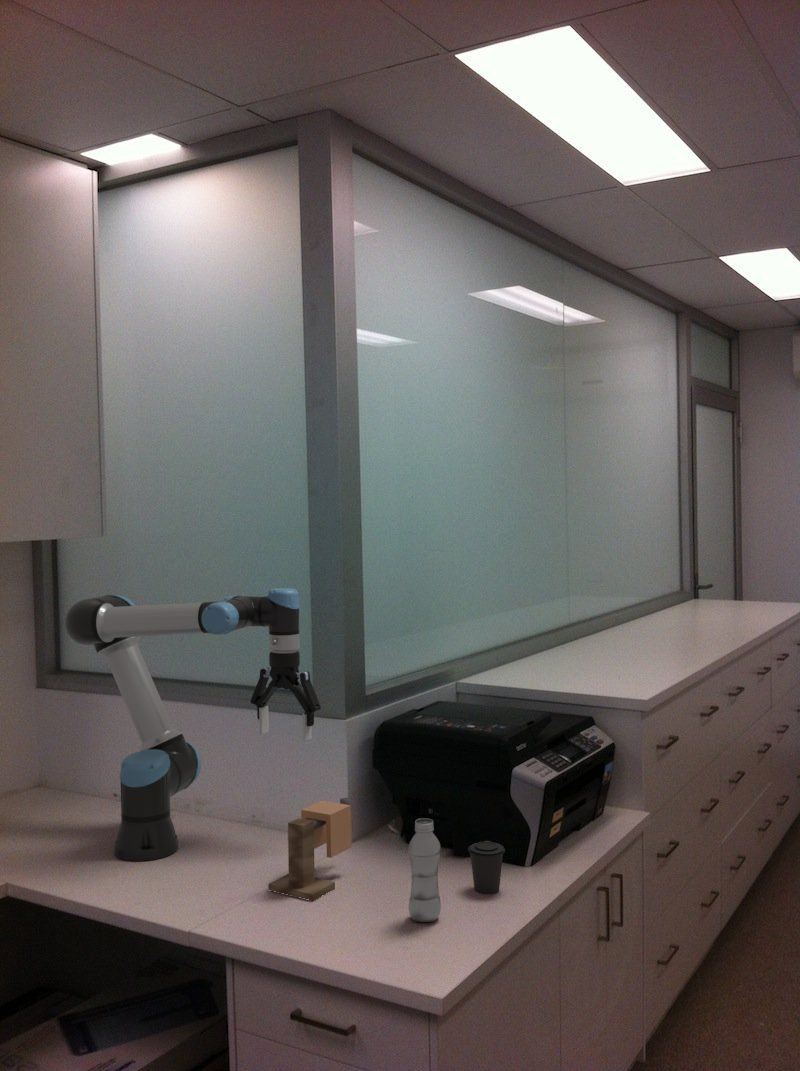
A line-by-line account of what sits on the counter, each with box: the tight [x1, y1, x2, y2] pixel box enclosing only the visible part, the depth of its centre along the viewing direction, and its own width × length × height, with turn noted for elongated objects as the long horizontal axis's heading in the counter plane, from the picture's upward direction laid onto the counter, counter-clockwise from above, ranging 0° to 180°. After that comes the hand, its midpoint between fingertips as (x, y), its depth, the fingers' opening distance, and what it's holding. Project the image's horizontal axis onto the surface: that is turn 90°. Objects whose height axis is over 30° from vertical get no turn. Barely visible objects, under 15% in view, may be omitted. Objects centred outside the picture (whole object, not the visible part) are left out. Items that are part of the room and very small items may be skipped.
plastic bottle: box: [408, 817, 442, 923], centre depth 201 cm, size 6×7×20 cm
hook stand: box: [268, 797, 351, 902], centre depth 223 cm, size 12×22×16 cm, turn 149°
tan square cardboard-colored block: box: [300, 800, 353, 859], centre depth 225 cm, size 8×8×10 cm
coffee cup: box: [468, 840, 506, 896], centre depth 216 cm, size 8×8×10 cm
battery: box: [452, 833, 471, 857], centre depth 240 cm, size 4×7×10 cm, turn 155°
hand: (285, 736), depth 247 cm, fingers open, 13 cm apart
